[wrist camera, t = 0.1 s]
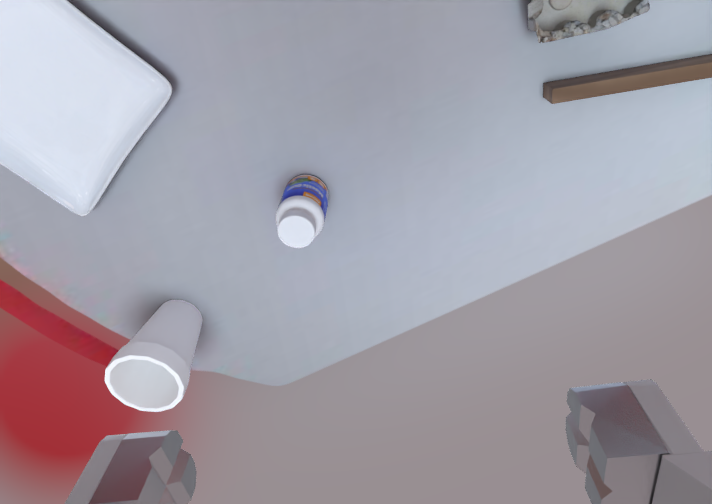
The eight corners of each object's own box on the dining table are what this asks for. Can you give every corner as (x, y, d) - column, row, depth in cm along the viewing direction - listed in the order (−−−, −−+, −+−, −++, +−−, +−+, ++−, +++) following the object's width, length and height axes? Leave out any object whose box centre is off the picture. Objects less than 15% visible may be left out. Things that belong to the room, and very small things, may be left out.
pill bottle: (330, 176, 58) (324, 211, 50) (327, 216, 61) (320, 256, 53) (285, 170, 58) (271, 205, 50) (283, 211, 61) (270, 251, 52)
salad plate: (186, 81, 53) (176, 88, 50) (96, 209, 62) (83, 222, 59) (-3, -75, 46) (-29, -78, 43) (-76, 93, 55) (-102, 100, 52)
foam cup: (207, 348, 73) (178, 419, 61) (145, 333, 71) (103, 402, 60) (218, 300, 68) (188, 366, 57) (151, 282, 67) (107, 346, 55)
